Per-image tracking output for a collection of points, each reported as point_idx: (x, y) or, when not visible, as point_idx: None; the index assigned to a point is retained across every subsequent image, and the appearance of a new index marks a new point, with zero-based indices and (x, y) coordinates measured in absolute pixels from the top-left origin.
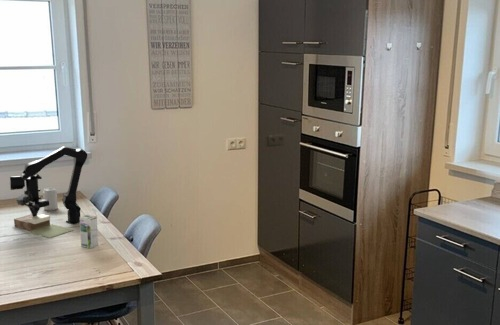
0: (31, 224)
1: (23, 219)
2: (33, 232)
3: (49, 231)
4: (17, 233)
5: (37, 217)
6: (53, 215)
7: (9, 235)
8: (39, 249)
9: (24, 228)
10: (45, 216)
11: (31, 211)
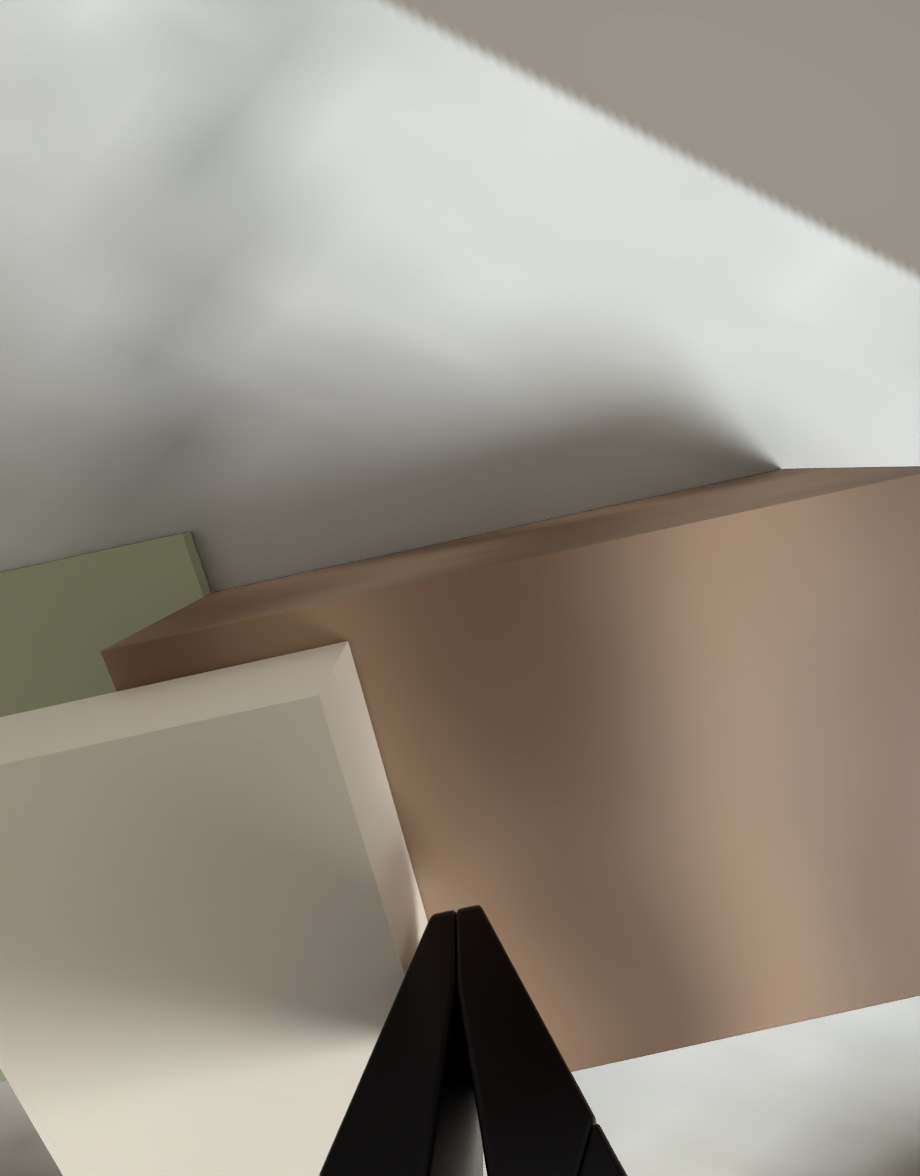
0: (124, 657)
1: (687, 657)
2: (45, 577)
3: None
4: (269, 305)
5: (172, 983)
6: (808, 1146)
7: (237, 76)
8: None
9: (445, 544)
10: (130, 1173)
11: (518, 1137)
